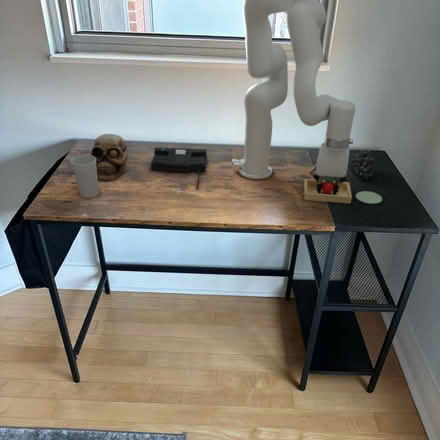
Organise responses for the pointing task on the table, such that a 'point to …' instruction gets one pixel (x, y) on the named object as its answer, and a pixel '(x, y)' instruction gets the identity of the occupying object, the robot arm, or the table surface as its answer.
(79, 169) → the cup
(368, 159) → the fruit
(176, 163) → the electronic device
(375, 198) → the coaster
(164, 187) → the table surface
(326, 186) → the strawberry
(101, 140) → the brown skull
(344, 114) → the robot arm
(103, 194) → the table surface
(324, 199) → the tray
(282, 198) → the table surface
